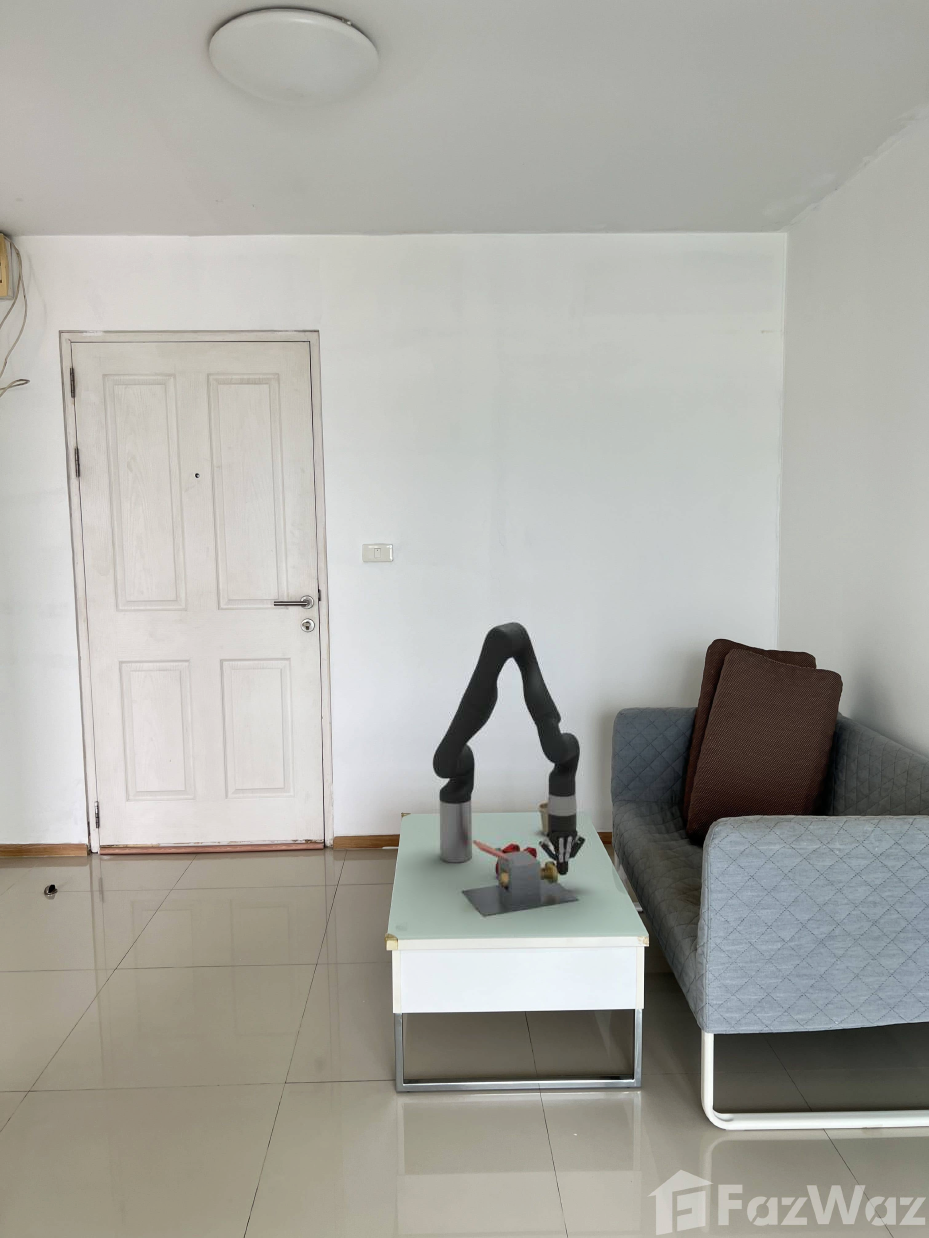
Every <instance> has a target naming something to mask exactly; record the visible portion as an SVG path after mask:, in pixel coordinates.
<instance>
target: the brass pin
mask: <svg viewBox="0 0 929 1238" xmlns="http://www.w3.org/2000/svg"><path fill="white" fill-rule="evenodd" d="M546 879H547V881H548V882H549V883H550V884H552V883H556V882H558V880H559V873H558V871H557V867H556V863H555V861H554V860H549V861H546V862H545V863H544V866H541V880H546ZM500 881H501V884H502V886H509V876H508V873H501V874H500Z"/></svg>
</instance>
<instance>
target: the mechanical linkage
mask: <svg viewBox="0 0 929 1238" xmlns="http://www.w3.org/2000/svg"><path fill="white" fill-rule="evenodd" d="M520 851H521V848H520V845H519V844H515V843H510V844H508V845H506V846H505V847H503V849H502V848H501V852H502V853H503V854H506V853H513V852H520ZM522 851H527V852H528V853H530V854H531V855H532V856H533V857H535V858H536V859H537V858H538V857H537V856H538V851H537V848H535V847H531V846H527V847H526V848H524V849H523V850H522ZM494 870H495V875H496V876H497V877H498V859H497V861H496V863H495V869H494Z"/></svg>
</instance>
